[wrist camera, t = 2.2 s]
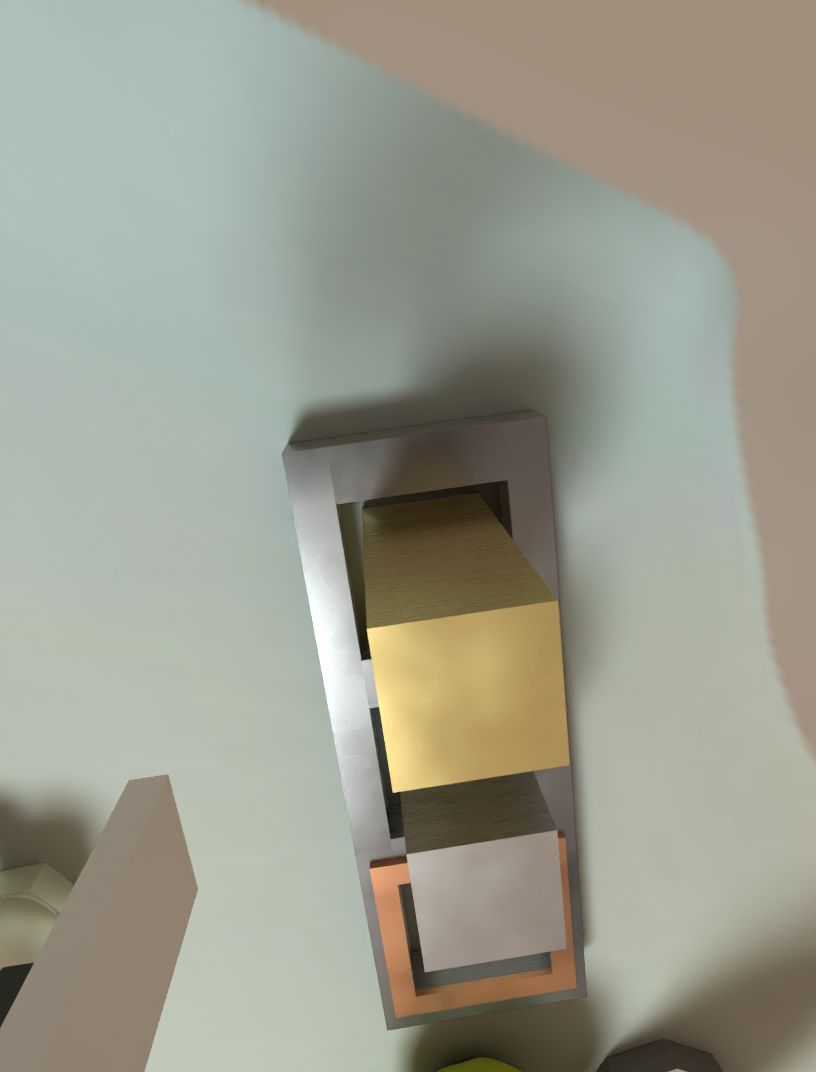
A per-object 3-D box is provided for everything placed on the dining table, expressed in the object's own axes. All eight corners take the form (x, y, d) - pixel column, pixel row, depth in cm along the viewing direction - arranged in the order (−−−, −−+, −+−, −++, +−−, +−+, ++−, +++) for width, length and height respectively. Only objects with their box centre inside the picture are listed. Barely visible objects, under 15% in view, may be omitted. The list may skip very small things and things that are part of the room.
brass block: (361, 508, 26) (366, 628, 16) (477, 492, 27) (557, 600, 16) (378, 616, 28) (392, 792, 17) (488, 599, 28) (569, 765, 17)
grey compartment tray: (287, 443, 26) (281, 454, 23) (532, 409, 26) (548, 417, 24) (385, 989, 33) (387, 1036, 31) (573, 958, 33) (589, 1003, 31)
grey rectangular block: (390, 696, 29) (406, 854, 20) (496, 680, 29) (557, 829, 20) (404, 787, 30) (425, 972, 22) (505, 771, 30) (566, 948, 22)
